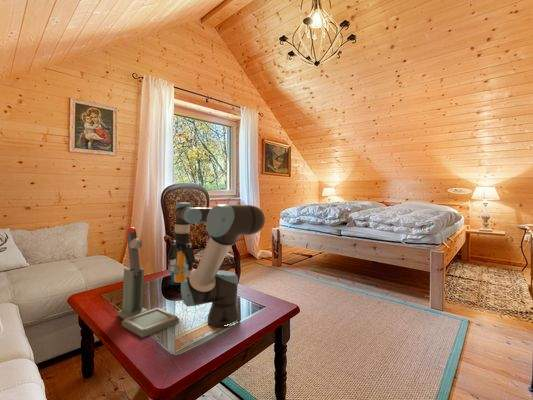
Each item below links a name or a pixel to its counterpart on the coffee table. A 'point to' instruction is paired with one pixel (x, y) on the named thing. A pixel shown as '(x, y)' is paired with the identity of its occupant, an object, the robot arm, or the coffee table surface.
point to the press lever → (134, 250)
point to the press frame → (141, 308)
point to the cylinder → (179, 268)
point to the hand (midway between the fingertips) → (180, 274)
